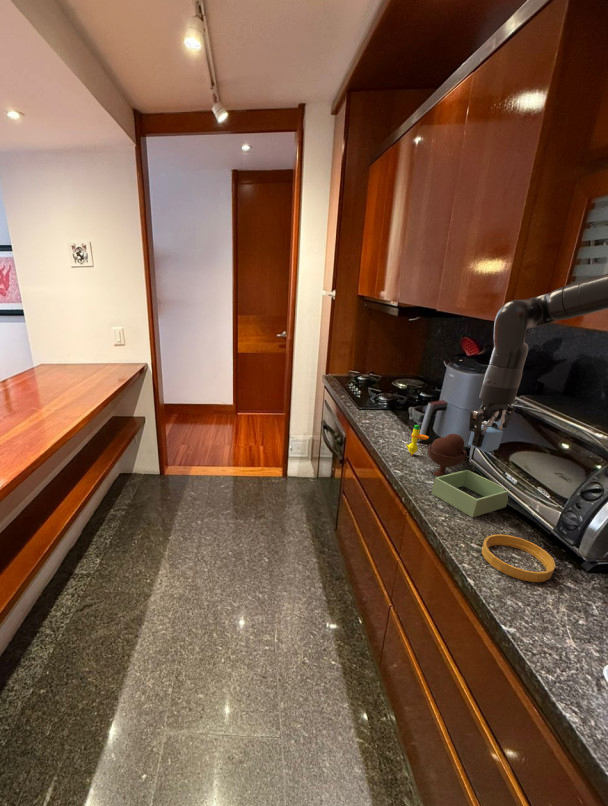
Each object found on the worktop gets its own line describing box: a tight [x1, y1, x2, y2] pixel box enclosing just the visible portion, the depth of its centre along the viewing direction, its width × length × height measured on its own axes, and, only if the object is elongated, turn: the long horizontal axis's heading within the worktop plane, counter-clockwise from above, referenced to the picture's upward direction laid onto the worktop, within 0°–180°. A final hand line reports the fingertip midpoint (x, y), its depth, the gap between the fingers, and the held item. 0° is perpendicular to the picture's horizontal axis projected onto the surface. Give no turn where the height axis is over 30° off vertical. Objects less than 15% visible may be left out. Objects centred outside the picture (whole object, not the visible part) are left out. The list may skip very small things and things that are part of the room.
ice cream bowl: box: [427, 433, 468, 477], centre depth 122 cm, size 11×11×15 cm
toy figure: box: [405, 424, 429, 456], centre depth 136 cm, size 7×4×12 cm, turn 58°
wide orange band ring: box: [481, 533, 557, 583], centre depth 87 cm, size 13×13×3 cm
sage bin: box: [431, 469, 509, 518], centre depth 110 cm, size 13×13×6 cm
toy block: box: [467, 425, 504, 453], centre depth 103 cm, size 5×5×5 cm
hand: (483, 444), depth 103 cm, fingers closed on toy block, 5 cm apart
